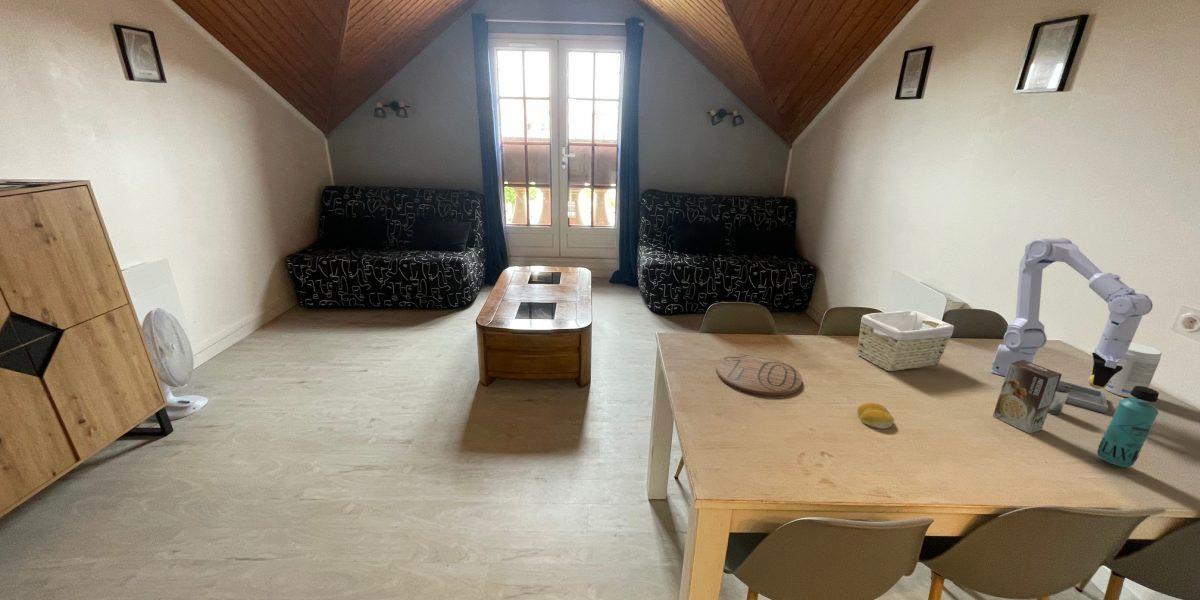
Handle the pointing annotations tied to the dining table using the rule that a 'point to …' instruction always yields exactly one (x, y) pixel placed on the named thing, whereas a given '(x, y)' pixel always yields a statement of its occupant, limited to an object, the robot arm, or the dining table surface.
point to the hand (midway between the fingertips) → (1097, 382)
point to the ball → (1095, 385)
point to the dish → (1087, 398)
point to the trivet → (759, 375)
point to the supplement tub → (1135, 370)
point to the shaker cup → (1059, 398)
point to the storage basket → (902, 339)
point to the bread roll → (875, 415)
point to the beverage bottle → (1129, 427)
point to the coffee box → (1026, 395)
